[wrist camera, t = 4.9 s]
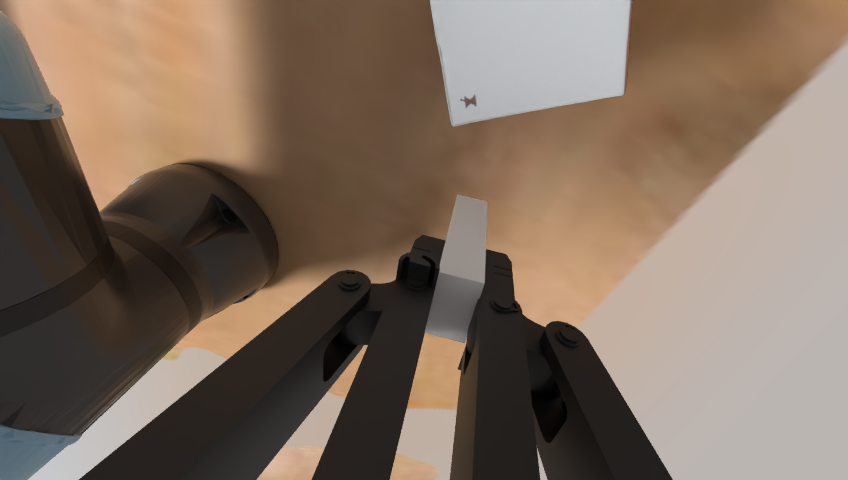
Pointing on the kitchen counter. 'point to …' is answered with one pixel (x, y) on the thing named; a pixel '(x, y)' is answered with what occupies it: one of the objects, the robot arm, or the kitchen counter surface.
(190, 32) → the kitchen counter surface
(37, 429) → the robot arm
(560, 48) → the small box
